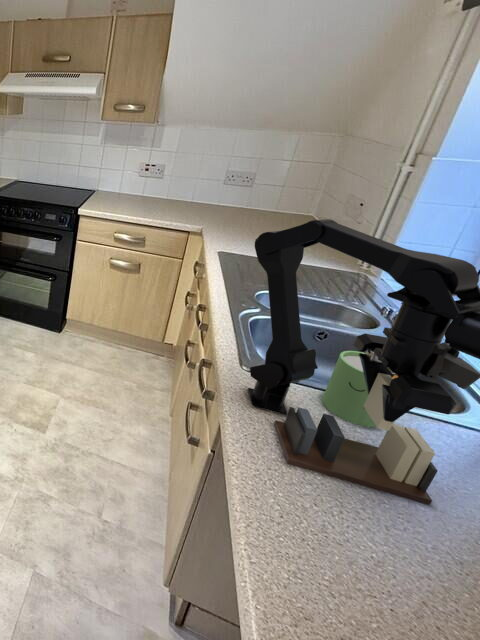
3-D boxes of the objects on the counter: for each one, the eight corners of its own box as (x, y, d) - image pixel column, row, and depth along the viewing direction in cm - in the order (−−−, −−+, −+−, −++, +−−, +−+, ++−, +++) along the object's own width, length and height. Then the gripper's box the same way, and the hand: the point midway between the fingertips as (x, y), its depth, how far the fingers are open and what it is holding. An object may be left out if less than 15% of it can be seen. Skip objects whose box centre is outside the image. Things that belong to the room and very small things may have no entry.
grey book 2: (313, 437, 82) (323, 413, 79) (323, 440, 81) (333, 415, 79) (323, 459, 76) (334, 434, 74) (333, 462, 76) (345, 437, 74)
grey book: (288, 430, 83) (298, 406, 81) (298, 433, 82) (308, 409, 80) (297, 452, 78) (307, 427, 76) (307, 455, 77) (317, 430, 75)
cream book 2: (375, 454, 78) (390, 422, 75) (386, 457, 77) (402, 425, 75) (390, 478, 73) (407, 446, 70) (401, 482, 72) (419, 449, 70)
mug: (329, 417, 88) (348, 371, 84) (316, 389, 97) (334, 346, 93) (407, 439, 83) (432, 391, 79) (386, 407, 92) (408, 362, 88)
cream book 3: (388, 457, 77) (405, 426, 75) (400, 460, 77) (416, 429, 74) (404, 483, 72) (422, 450, 69) (416, 486, 71) (435, 453, 69)
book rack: (273, 424, 86) (282, 400, 84) (398, 457, 79) (411, 432, 77) (287, 463, 77) (297, 437, 75) (429, 505, 69) (445, 478, 67)
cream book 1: (363, 406, 76) (378, 372, 74) (374, 408, 76) (390, 375, 73) (377, 428, 71) (394, 392, 68) (389, 431, 71) (406, 395, 68)
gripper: (530, 379, 56) (477, 465, 62) (449, 318, 72) (413, 391, 78) (421, 357, 60) (380, 440, 66) (368, 304, 76) (339, 374, 82)
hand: (380, 409), depth 73 cm, fingers closed on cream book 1, 6 cm apart
